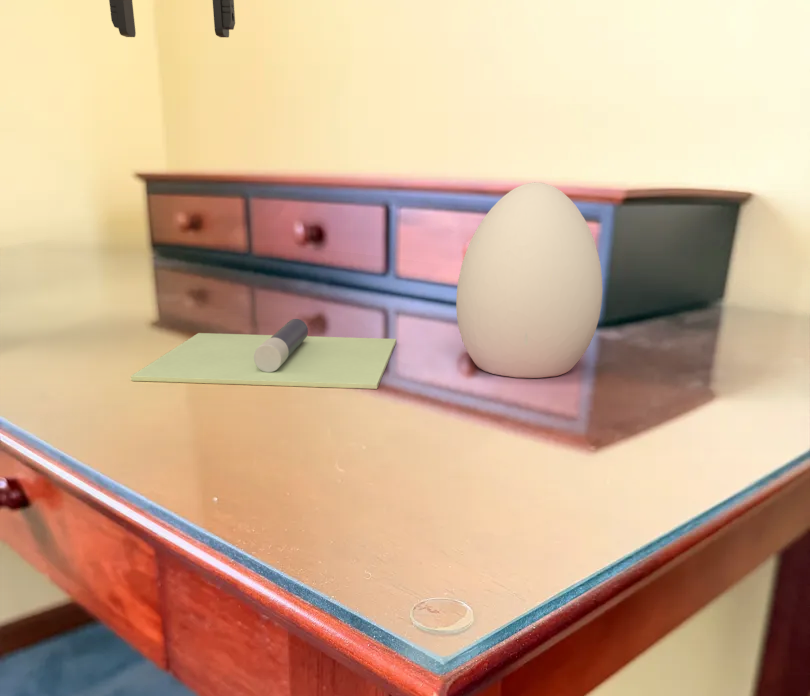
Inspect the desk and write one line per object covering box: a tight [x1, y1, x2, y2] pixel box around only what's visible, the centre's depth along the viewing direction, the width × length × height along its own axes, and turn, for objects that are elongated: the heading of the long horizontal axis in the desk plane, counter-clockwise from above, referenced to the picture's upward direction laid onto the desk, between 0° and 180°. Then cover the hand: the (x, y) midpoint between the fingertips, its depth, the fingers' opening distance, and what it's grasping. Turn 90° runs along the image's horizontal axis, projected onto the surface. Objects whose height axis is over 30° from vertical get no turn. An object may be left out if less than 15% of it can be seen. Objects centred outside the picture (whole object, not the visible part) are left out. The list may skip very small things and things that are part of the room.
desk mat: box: [130, 332, 397, 390], centre depth 74 cm, size 20×18×1 cm
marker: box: [254, 318, 309, 372], centre depth 73 cm, size 12×2×2 cm, turn 176°
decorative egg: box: [455, 182, 603, 379], centre depth 69 cm, size 12×12×15 cm
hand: (174, 36), depth 72 cm, fingers open, 8 cm apart
